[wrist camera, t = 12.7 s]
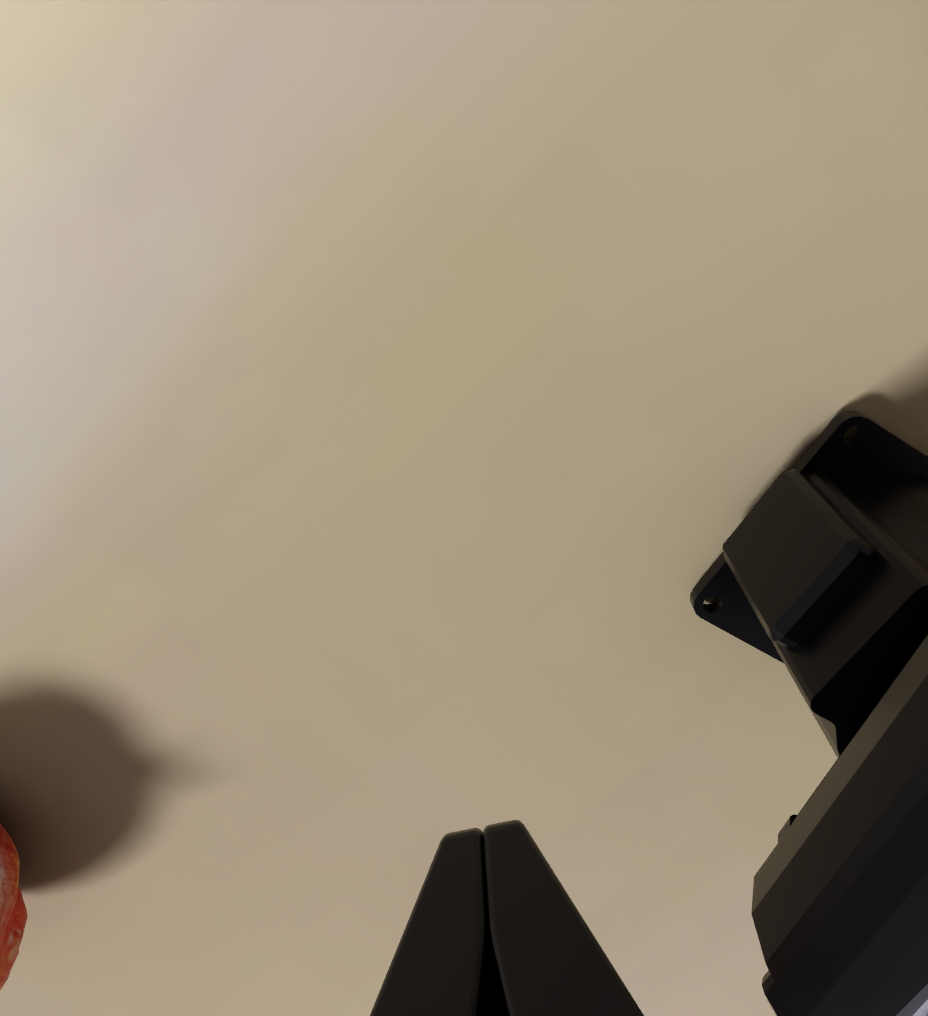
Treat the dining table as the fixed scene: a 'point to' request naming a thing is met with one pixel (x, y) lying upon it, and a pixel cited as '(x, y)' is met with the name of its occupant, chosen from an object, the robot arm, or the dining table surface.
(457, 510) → the dining table surface
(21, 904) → the pomegranate
